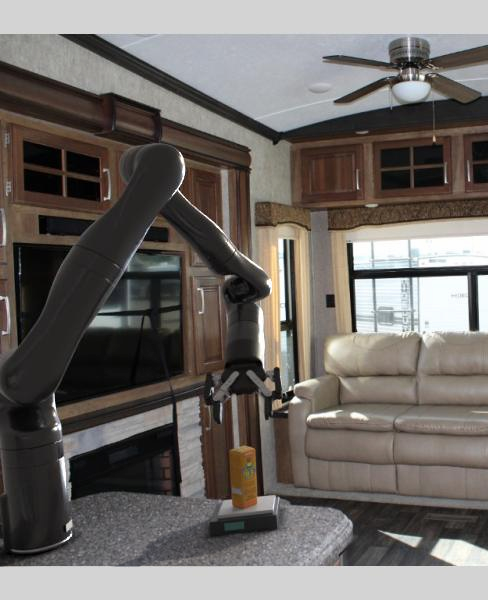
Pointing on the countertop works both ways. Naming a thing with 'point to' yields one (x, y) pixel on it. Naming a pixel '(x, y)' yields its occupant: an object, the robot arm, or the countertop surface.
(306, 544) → the countertop surface
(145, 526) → the countertop surface
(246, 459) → the supplement box
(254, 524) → the scale
